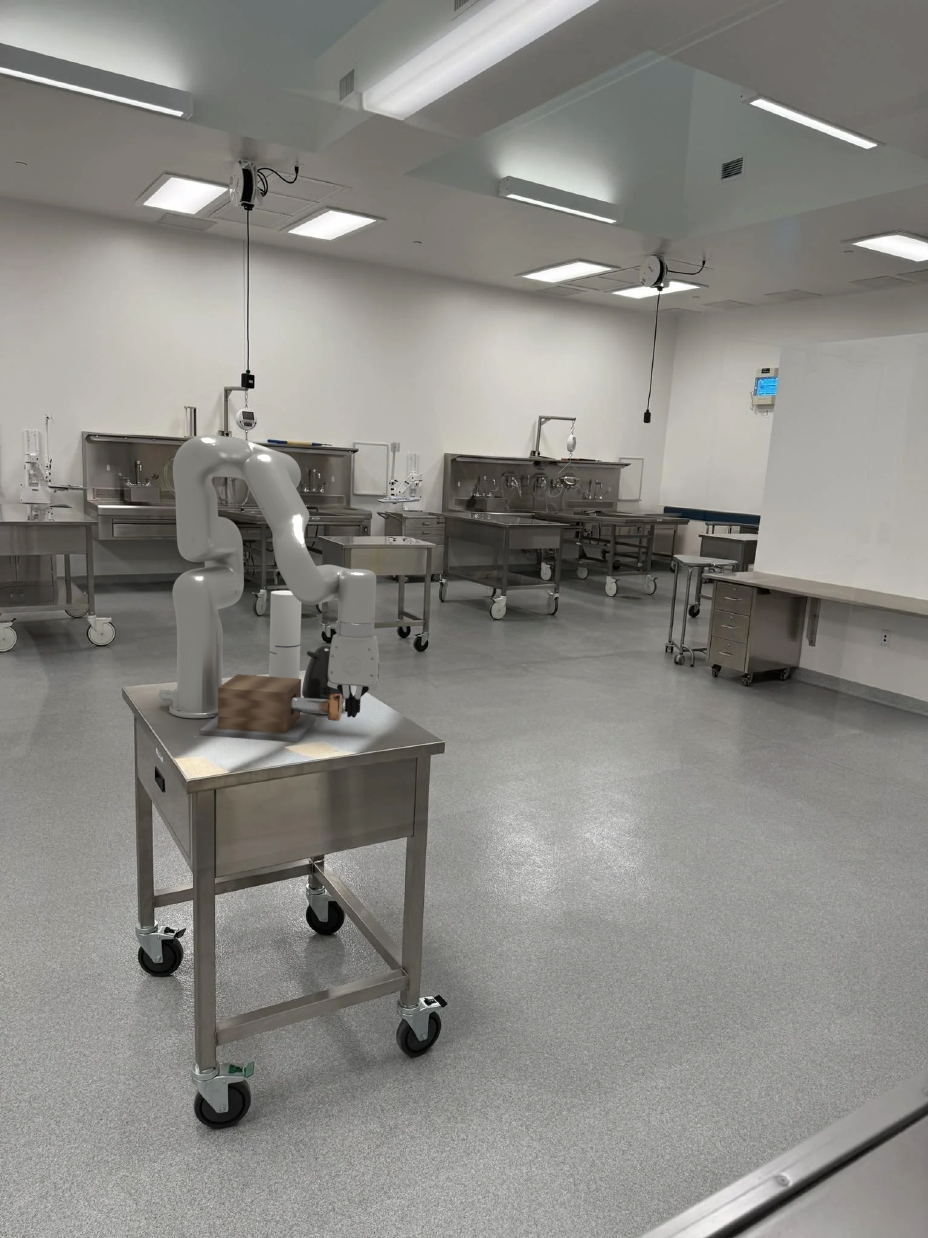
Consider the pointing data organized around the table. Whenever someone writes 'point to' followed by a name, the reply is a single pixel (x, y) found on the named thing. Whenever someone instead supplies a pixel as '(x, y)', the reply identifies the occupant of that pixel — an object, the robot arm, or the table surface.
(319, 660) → the black rounded figure
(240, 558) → the robot arm
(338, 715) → the shaft
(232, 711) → the block
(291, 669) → the cylindrical container
